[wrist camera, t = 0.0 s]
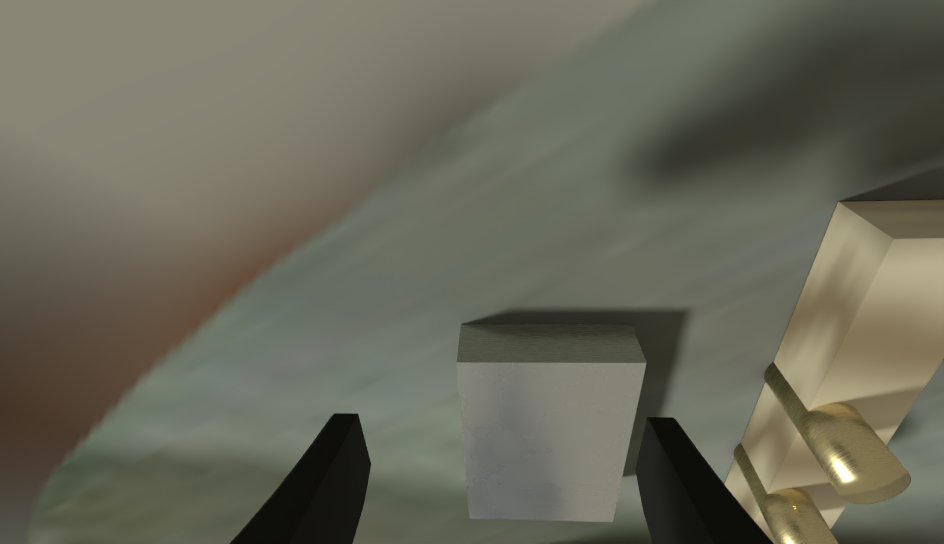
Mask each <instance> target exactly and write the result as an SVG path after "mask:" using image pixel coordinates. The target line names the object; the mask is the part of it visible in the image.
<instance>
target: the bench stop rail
mask: <svg viewBox="0 0 944 544" xmlns="http://www.w3.org/2000/svg"><path fill="white" fill-rule="evenodd" d="M943 359H944V200H904V201H857V202H838V204H837V206H836V209H835V211H834V214H833V216H832V219H831V221H830V224H829V226H828V229H827V231H826V234H825V236H824V239H823V241H822V244H821V246H820V249H819V251H818V253H817V256H816V258H815V261H814V263H813V266H812V268H811V271H810V273H809V276H808V278H807V281H806V283H805V286H804V288H803V291H802V293H801V296H800V298H799V301H798V303H797V306H796V308H795V311H794V313H793V316H792V318H791V320H790V323H789V325H788V328H787V330H786V333H785V335H784V338H783V340H782V343H781V345H780V348H779V350H778V353H777V355H776V358H775V360H774V362H773V363H772V364H771V365H770V366H769V367H768V368H767V370H766V372H765V376H764V378H765V381H766V383H765V385H764V387H763V390H762V392H761V395H760V397H759V400H758V402H757V405H756V407H755V410H754V412H753V415H752V417H751V420H750V422H749V425H748V427H747V430H746V432H745V435H744V437H743V440H742V442H741V443H740V444H739V445H738V446H737V447H736V448H735V450H734V457H735V459H734V462H733V464H732V467H731V469H730V472H729V474H728V477H727V479H726V482H725V484H724V485H725V486H726V487H727V488H728V490H729V491H730V492H731V493H732V495H733V496H734V497H735V498H736V499H737V501H738V502H739V503H740V504H741V506H742V507H743V508H744V509H745V511H746V512H747V513H748V514H749V515H750V516H751V518H752V519H753V520H754V521H755V522H756V523H757V525H758V526H759V527H760V528H761V529H762V530H763V531H764V533H765V534H766V535H767V536H768V537H769V538H770V539H771V541H772V542H773V543H774V544H838V542H837V540H836V539H835V537H834V535H833V533H832V532H831V530H830V529H831V528H832V526H833V525H834V523H835V522H836V520H837V519H838V517H839V516H840V514H841V513H842V511H843V510H844V508H845V507H846V505H847V504H848V502H850V503H854V504H873V503H879V502H882V501H886V500H889V499H891V498H893V497H895V496H897V495H899V494H900V493H902V492H903V491H904V490H905V489H906V488H907V487H908V486H909V484H910V482H911V476H910V474H909V473H908V472H907V470H906V469H905V468H904V467H903V466H902V464H901V463H900V462H899V461H898V460H897V458H896V457H895V456H894V455H893V453H892V452H891V451H890V450H889V449H888V447H887V446H886V445H887V443H888V442H889V440H890V439H891V437H892V436H893V434H894V433H895V431H896V430H897V428H898V427H899V425H900V424H901V422H902V421H903V419H904V418H905V416H906V415H907V413H908V412H909V410H910V409H911V407H912V406H913V404H914V403H915V401H916V400H917V398H918V396H919V395H920V393H921V392H922V390H923V389H924V387H925V386H926V384H927V383H928V381H929V380H930V378H931V377H932V375H933V374H934V372H935V371H936V369H937V368H938V366H939V365H940V363H941V362H942V360H943Z"/></svg>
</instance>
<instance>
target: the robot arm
mask: <svg viewBox="0 0 944 544" xmlns="http://www.w3.org/2000/svg"><path fill="white" fill-rule="evenodd" d="M370 467H371V462H370V458H369V454H368V451H367V447H366V443H365V439H364V435H363V431H362V427H361V423H360V419H359V416H358V414H334V415H333V416H331V418H330V419H329V421H328V422H327V423H326V425H325V426H324V428H323V429H322V430H321V432H320V433H319V434H318V436H317V437H316V439H315V440H314V441H313V443H312V444H311V445H310V447H309V448H308V449H307V451H306V452H305V453H304V455H303V456H302V457H301V459H300V460H299V461H298V463H297V464H296V465H295V467H294V468H293V469H292V470H291V472H290V473H289V474H288V476H287V477H286V478H285V479H284V481H283V482H282V483H281V484H280V486H279V487H278V488H277V489H276V491H275V492H274V493H273V494H272V496H271V497H270V498H269V499H268V500H267V502H266V503H265V504H264V505H263V506H262V507H261V509H260V510H259V511H258V512H257V513H256V514H255V516H254V517H253V518H252V519H251V520H250V521H249V523H248V524H247V525H246V526H245V527H244V528H243V529H242V531H241V532H240V533H239V534H238V535H237V536H236V537H235V538H234V539H233V540H232V541H231V543H230V544H352V543H353V540H354V536H355V533H356V529H357V526H358V523H359V519H360V516H361V512H362V509H363V505H364V500H365V495H366V490H367V484H368V479H369V473H370ZM635 470H636V475H637V480H638V486H639V491H640V496H641V501H642V506H643V511H644V515H645V518H646V522H647V525H648V528H649V532H650V535H651V538H652V542H653V544H774V543H773V542H772V541H771V539H770V538H769V537H768V536H767V535H766V534H765V533H764V531H763V530H762V529H761V528H760V527H759V526H758V525H757V523H756V522H755V521H754V520H753V519H752V518H751V516H750V515H749V514H748V513H747V512H746V511H745V509H744V508H743V507H742V506H741V504H740V503H739V502H738V501H737V499H736V498H735V497H734V496H733V495H732V493H731V492H730V491H729V490H728V488H727V487H726V486H725V485H724V484H723V482H722V481H721V480H720V478H719V477H718V476H717V475H716V473H715V472H714V471H713V469H712V468H711V467H710V465H709V464H708V463H707V462H706V460H705V459H704V458H703V456H702V455H701V454H700V452H699V451H698V450H697V448H696V447H695V445H694V444H693V443H692V441H691V440H690V439H689V437H688V436H687V434H686V433H685V432H684V430H683V429H682V427H681V426H680V425H679V423H678V422H677V421H676V420H675V419H674V418H665V417H647V422H646V426H645V430H644V435H643V439H642V443H641V448H640V452H639V456H638V461H637V465H636V469H635Z"/></svg>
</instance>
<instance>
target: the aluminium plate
mask: <svg viewBox="0 0 944 544" xmlns="http://www.w3.org/2000/svg"><path fill="white" fill-rule="evenodd" d="M646 364H647V363H646V360H645V357H644V355H643V352H642V349H641V347H640V344H639V342H638V339H637V336H636V334H635V331H634V328H633V326H632V324H461V328H460V337H459V346H458V355H457V372H458V384H459V397H460V409H461V421H462V433H463V445H464V457H465V470H466V482H467V494H468V506H469V518H471V519H513V520H554V521H595V522H613V518H614V513H615V508H616V504H617V499H618V494H619V490H620V485H621V480H622V476H623V471H624V466H625V462H626V457H627V452H628V448H629V443H630V438H631V434H632V429H633V424H634V420H635V415H636V410H637V406H638V401H639V396H640V392H641V387H642V382H643V378H644V373H645V368H646Z"/></svg>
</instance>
